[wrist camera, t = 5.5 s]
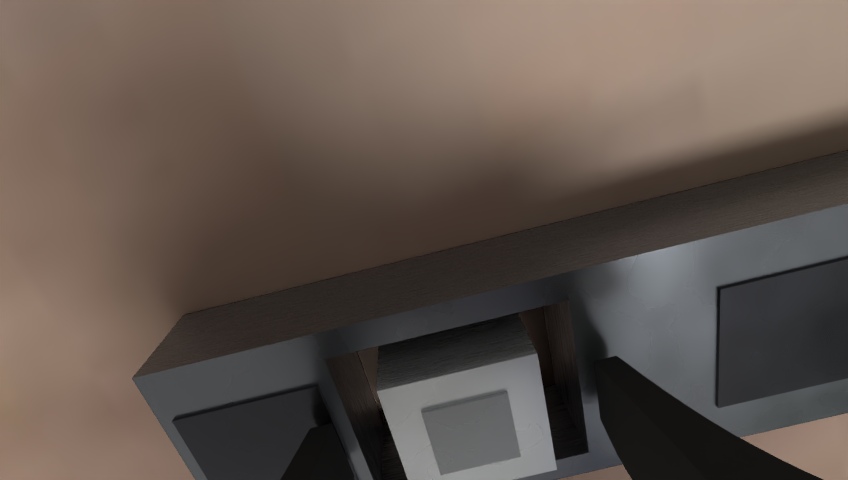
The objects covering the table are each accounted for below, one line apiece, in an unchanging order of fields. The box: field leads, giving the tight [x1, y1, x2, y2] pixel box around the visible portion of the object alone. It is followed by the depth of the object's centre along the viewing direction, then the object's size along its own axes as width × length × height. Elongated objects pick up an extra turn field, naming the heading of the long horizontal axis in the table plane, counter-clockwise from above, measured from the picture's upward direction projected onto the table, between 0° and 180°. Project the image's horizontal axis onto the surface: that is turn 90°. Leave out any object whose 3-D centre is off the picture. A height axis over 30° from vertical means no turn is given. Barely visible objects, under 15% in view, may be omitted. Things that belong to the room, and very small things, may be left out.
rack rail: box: [132, 150, 848, 480], centre depth 14 cm, size 7×22×3 cm, turn 103°
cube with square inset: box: [377, 313, 557, 480], centre depth 13 cm, size 4×4×4 cm
